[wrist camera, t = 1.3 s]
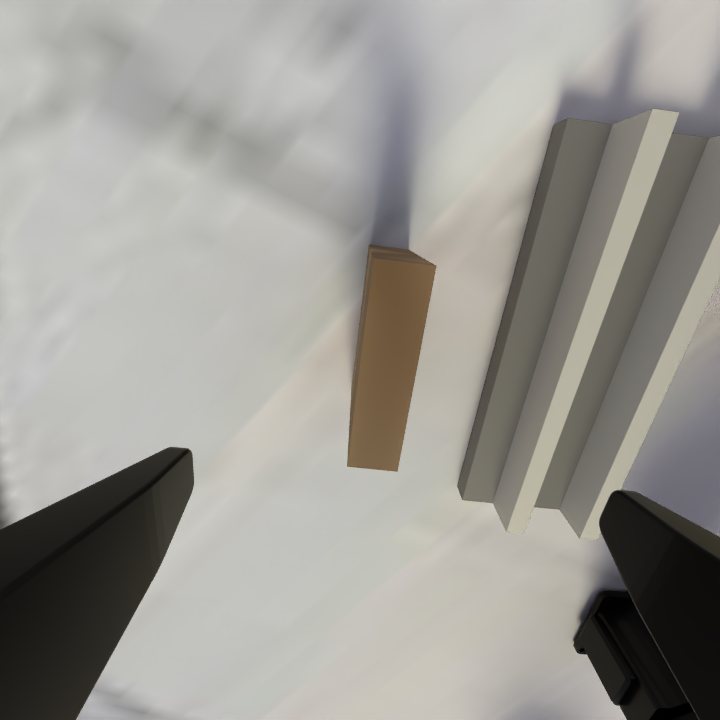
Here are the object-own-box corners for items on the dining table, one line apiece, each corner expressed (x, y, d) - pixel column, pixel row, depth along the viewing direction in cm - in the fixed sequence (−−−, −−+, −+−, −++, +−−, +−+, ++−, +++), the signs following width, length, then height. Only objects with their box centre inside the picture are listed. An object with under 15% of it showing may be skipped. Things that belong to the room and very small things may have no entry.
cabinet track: (746, 152, 16) (838, 135, 13) (593, 499, 23) (629, 543, 20) (553, 125, 16) (601, 101, 13) (457, 486, 23) (472, 528, 20)
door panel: (408, 249, 18) (436, 265, 11) (385, 393, 21) (397, 471, 14) (369, 244, 18) (373, 258, 11) (351, 389, 21) (347, 466, 14)
